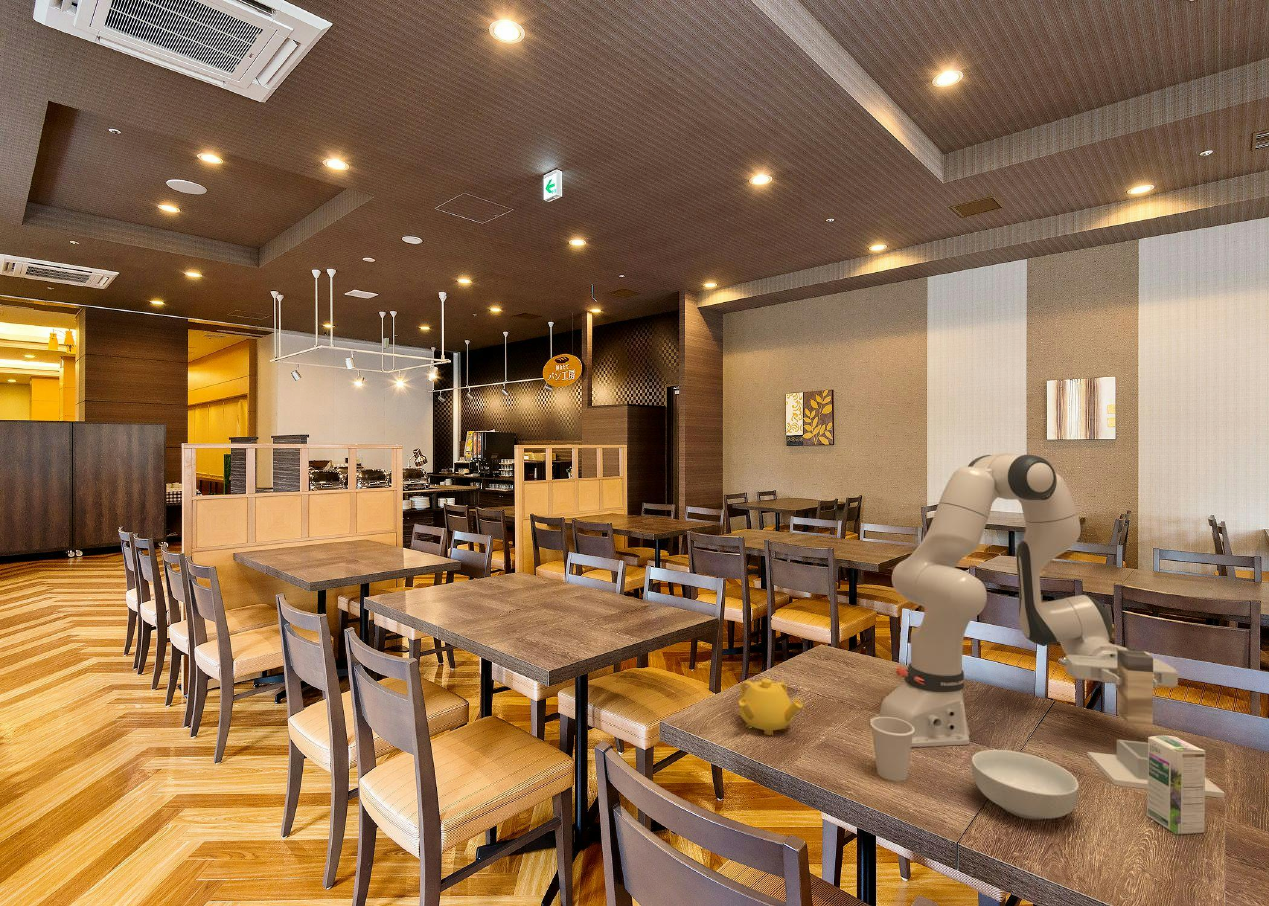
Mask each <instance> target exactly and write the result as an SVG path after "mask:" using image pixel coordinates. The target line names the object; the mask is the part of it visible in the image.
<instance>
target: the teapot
mask: <svg viewBox="0 0 1269 906" xmlns="http://www.w3.org/2000/svg"><path fill="white" fill-rule="evenodd" d="M746 686H748V688H747V690H746ZM740 694H741V697H740V698H739V699H738V705H739V715H740V716H741V718H742V720H743V721H744V722H745V723H746V724H745V725H746V726H748V727H754V728H755V729H758V730H763V734H764V733H765V734H767V735H772V734H773V733H774V731H777V730H787V729H788V726H789V724H791V723H792V721H793V720H794V717H795V715H796V714H797V713H798V712H799V711H800V710H801V709H802V708H803V706H804V705H803V703H802V702H801V701H800V700H799V699H795V700H794V701H793V702H792V701H791V699H790V697H789V695H788V686H787V684H786V683H785V682H783V681H777V682H773V681H772V679H770V678H762V679H760V680H758V681H755V682H752V681H750V680H745V681H743V682H742V683H741V684H740ZM746 726H745V727H746ZM748 727H747V728H748ZM786 728H787V729H786ZM765 734H764V735H765ZM767 735H766V736H767ZM772 736H773V735H772Z"/></svg>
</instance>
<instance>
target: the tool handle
mask: <svg viewBox="0 0 1269 906" xmlns="http://www.w3.org/2000/svg"><path fill="white" fill-rule="evenodd" d="M1142 651H1143V650H1140V651H1129V650H1117V675H1121V676H1122V677H1124V679H1125V681H1124V683H1125V685H1124V686H1122V685H1116V686H1117V687H1116V715H1118V716H1119V717H1121V719H1123V720H1124V721H1125V722H1126V723H1130V724H1140V725H1148V726H1149V725H1150V726H1153V725H1154V688H1153V658H1154V657H1153V656H1152V655H1151V656H1152V657H1151V656H1149V655H1147V654H1145V653H1143V652H1142Z"/></svg>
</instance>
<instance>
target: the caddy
mask: <svg viewBox="0 0 1269 906" xmlns="http://www.w3.org/2000/svg"><path fill="white" fill-rule="evenodd" d="M1087 758H1088V759H1089V760H1090V761H1091V762H1092V763H1093V764H1094V765H1095V766H1096V767H1097V768H1098V769H1099V770H1100V772H1101V773H1102V774H1103V775H1105V776H1106V777H1107V779H1109V782H1111V783H1112V784H1113V785H1115V786H1120V787H1129V788H1135V789H1137V788H1138V789H1145V790H1148V742H1145V741H1135V740H1125V739H1116V754H1111V753H1110V754H1109V753H1102V752H1093V751H1087ZM1205 797H1214V798H1219V799H1226V793H1225V792H1224V791H1223V790H1222V789H1221V788H1219V787H1218V786H1217V785H1216V784H1214V783H1213V782H1212V781H1210V780H1209V779H1208V778H1207V777H1205Z"/></svg>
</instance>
